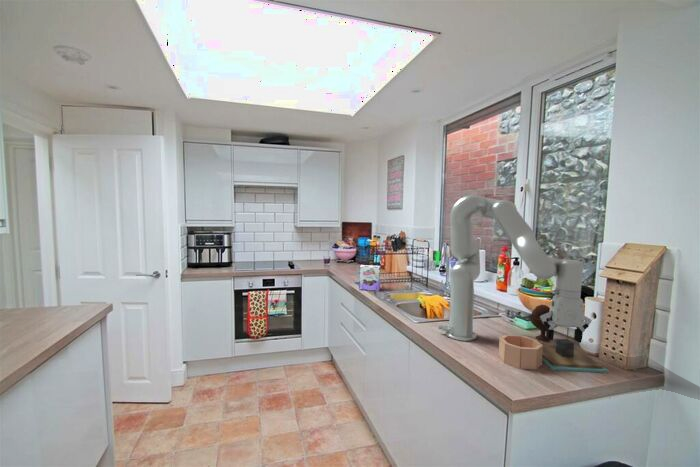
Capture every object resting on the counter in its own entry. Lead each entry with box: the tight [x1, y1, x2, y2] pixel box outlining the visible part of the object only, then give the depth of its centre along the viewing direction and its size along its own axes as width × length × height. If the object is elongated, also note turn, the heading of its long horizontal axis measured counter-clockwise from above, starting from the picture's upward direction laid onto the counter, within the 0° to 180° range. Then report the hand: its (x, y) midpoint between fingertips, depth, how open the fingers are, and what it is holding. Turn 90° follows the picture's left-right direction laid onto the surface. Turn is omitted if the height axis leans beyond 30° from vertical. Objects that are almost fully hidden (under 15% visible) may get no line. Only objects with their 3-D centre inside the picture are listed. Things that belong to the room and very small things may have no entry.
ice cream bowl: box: [529, 304, 558, 343], centre depth 136 cm, size 11×11×15 cm
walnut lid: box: [542, 338, 604, 369], centre depth 118 cm, size 16×16×6 cm
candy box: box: [358, 264, 381, 292], centre depth 220 cm, size 14×6×16 cm, turn 80°
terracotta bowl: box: [498, 334, 544, 370], centre depth 116 cm, size 13×13×7 cm
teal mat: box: [542, 357, 609, 374], centre depth 118 cm, size 18×18×1 cm
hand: (563, 340), depth 118 cm, fingers open, 9 cm apart
